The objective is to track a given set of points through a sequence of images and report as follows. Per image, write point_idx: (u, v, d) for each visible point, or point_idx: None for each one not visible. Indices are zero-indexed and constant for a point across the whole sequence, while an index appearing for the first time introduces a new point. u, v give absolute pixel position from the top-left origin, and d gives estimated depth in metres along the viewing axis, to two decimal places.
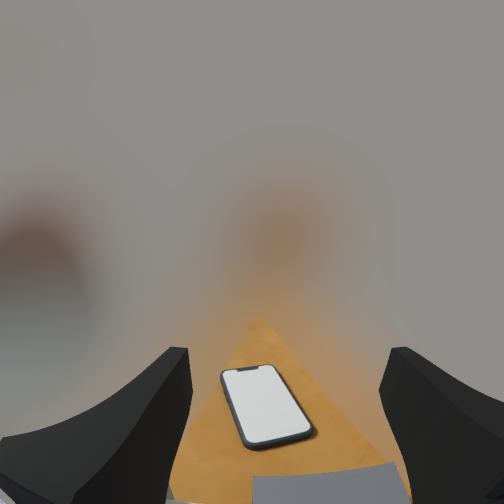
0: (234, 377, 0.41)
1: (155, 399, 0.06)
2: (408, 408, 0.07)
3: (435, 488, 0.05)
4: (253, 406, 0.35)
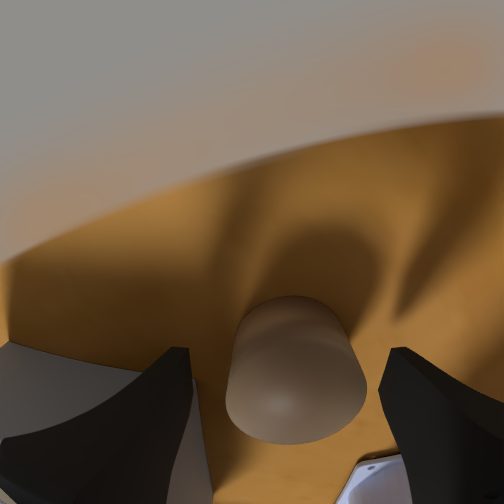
0: None
1: (156, 399, 0.06)
2: (407, 408, 0.07)
3: (434, 488, 0.05)
4: None
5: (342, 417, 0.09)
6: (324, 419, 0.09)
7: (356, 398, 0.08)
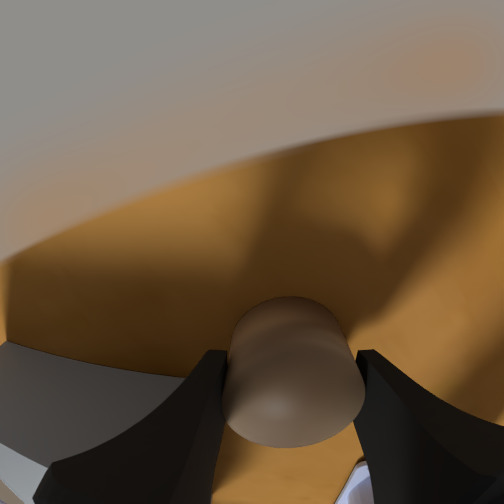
0: None
1: (207, 405, 0.06)
2: (371, 414, 0.07)
3: (394, 500, 0.05)
4: None
5: (340, 421, 0.08)
6: (321, 423, 0.09)
7: (354, 403, 0.08)
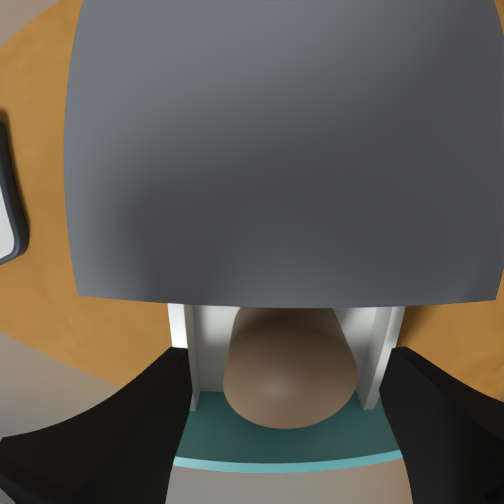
0: None
1: (155, 399, 0.06)
2: (408, 408, 0.07)
3: (435, 488, 0.05)
4: None
5: (334, 402, 0.09)
6: (317, 404, 0.09)
7: (348, 384, 0.09)
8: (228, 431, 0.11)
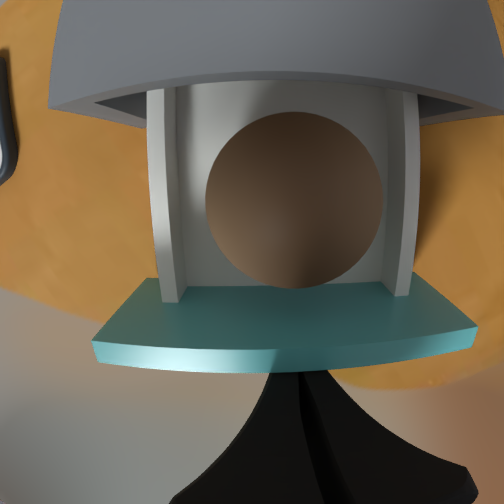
0: None
1: None
2: (301, 420, 0.08)
3: None
4: None
5: (360, 232, 0.07)
6: (337, 234, 0.07)
7: (371, 197, 0.07)
8: (219, 318, 0.09)
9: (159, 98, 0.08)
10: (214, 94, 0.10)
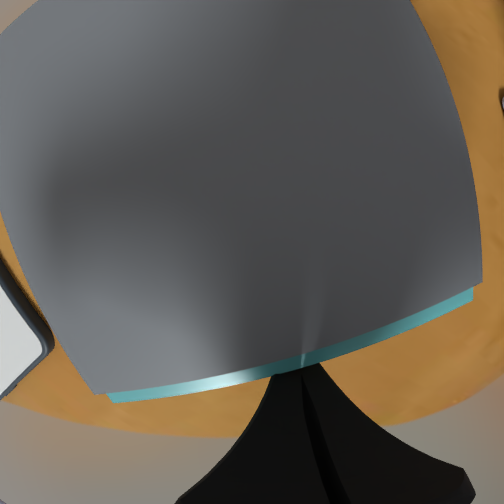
0: None
1: None
2: None
3: None
4: None
5: None
6: None
7: None
8: None
9: None
10: None
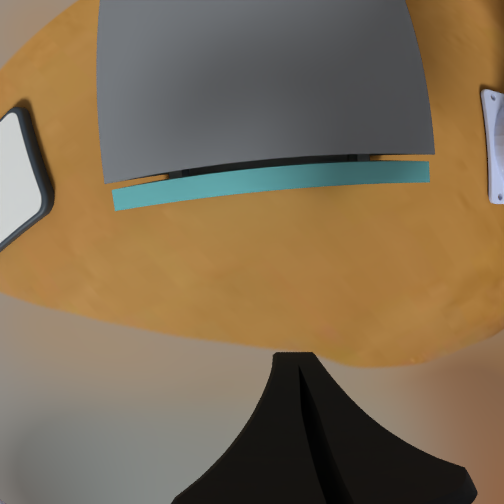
0: None
1: None
2: None
3: None
4: None
5: None
6: None
7: None
8: None
9: None
10: None
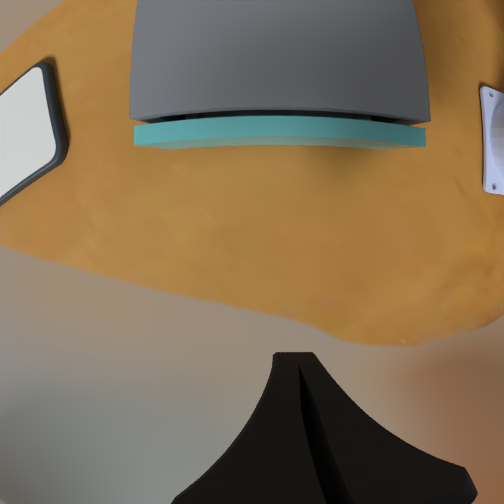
0: None
1: None
2: None
3: None
4: None
5: None
6: None
7: None
8: None
9: None
10: None
